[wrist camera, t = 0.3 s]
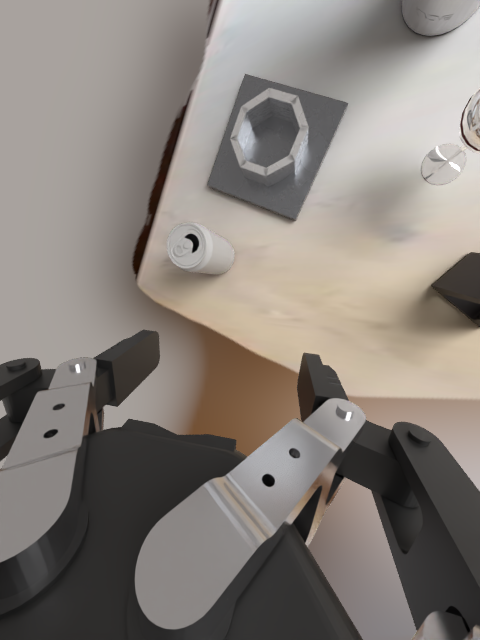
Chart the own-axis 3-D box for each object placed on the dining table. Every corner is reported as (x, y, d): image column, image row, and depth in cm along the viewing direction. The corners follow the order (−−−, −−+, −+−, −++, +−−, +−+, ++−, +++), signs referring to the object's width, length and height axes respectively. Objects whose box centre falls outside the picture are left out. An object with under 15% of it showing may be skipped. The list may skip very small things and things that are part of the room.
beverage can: (241, 264, 39) (217, 256, 28) (211, 280, 41) (176, 279, 30) (226, 230, 39) (195, 208, 27) (196, 249, 41) (155, 235, 29)
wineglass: (449, 201, 30) (538, 150, 19) (402, 178, 31) (461, 118, 20) (488, 149, 29) (613, 59, 17) (437, 127, 30) (524, 28, 18)
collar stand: (246, 79, 34) (238, 50, 30) (346, 108, 32) (354, 81, 27) (209, 187, 38) (198, 175, 34) (295, 220, 36) (295, 212, 31)
